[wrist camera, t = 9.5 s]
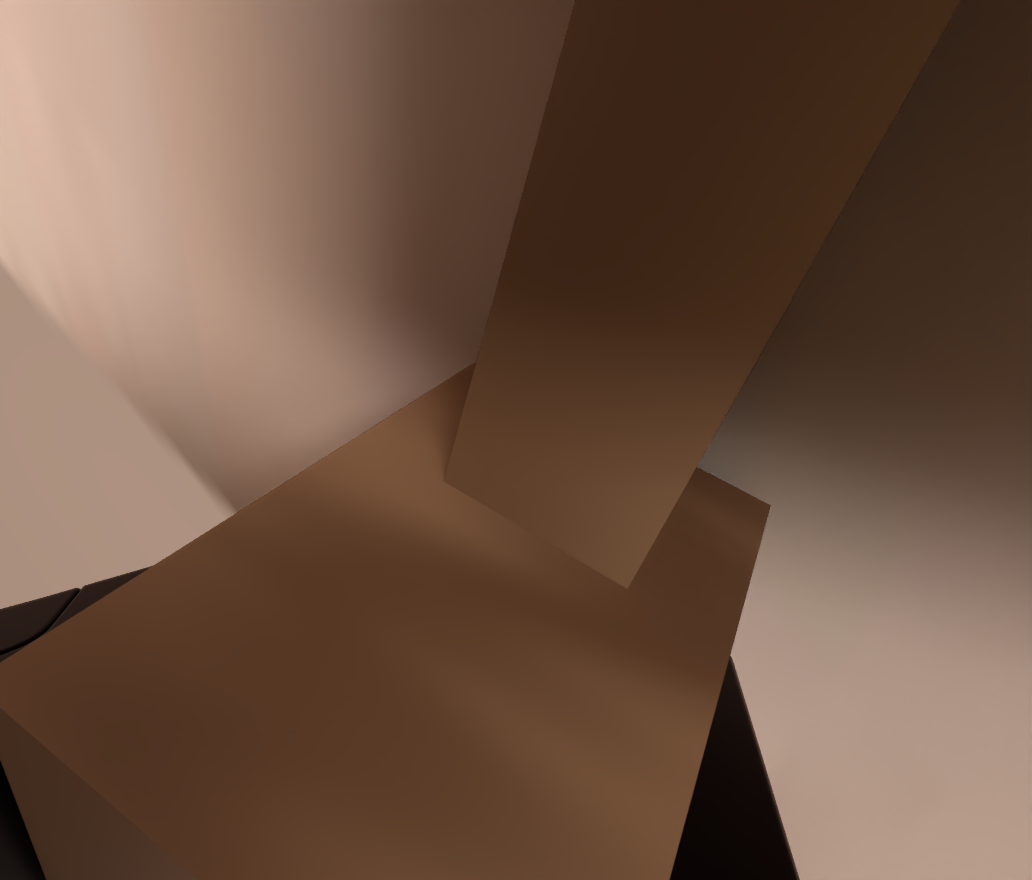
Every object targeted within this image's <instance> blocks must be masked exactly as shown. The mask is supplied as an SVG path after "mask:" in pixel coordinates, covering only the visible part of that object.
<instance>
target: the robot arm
mask: <svg viewBox="0 0 1032 880" xmlns="http://www.w3.org/2000/svg"><path fill="white" fill-rule="evenodd" d="M151 567H152V566H151ZM151 567H147V568H144V569H140V570H137V571H133V572H130V573H127V574H123V575H120V576H116V577H113V578H110V579H106V580H102V581H99V582H95V583H92V584H89V585H85V586H84V587H83V588H82V589H79V588H74V589H71V590H67V591H64V592H61V593H58V594H54V595H51V596H47V597H44V598H40V599H36V600H32V601H29V602H25V603H22V604H18V605H14V606H10V607H7V608H3V609H0V662H2V661H3V660H5V659H7V658H8V657H10V656H11V655H13V654H15V653H16V652H18V651H19V650H21V649H22V648H24V647H26V646H27V645H29V644H30V643H32V642H34V641H35V640H37V639H38V638H40V637H41V636H43V635H45V634H46V633H48V632H49V631H51V630H53V629H54V628H56V627H57V626H59V625H60V624H62V623H64V622H65V621H67V620H68V619H70V618H72V617H73V616H75V615H76V614H78V613H79V612H81V611H83V610H84V609H86V608H87V607H89V606H91V605H92V604H94V603H95V602H97V601H98V600H100V599H102V598H103V597H105V596H106V595H108V594H110V593H111V592H113V591H114V590H116V589H117V588H119V587H121V586H122V585H124V584H125V583H127V582H128V581H130V580H132V579H133V578H135V577H136V576H138V575H140V574H141V573H143V572H144V571H146V570H147V569H149V568H151ZM0 880H46V878H45V875H44V873H43V870H42V867H41V865H40V862H39V859H38V857H37V854H36V852H35V849H34V846H33V844H32V841H31V839H30V836H29V833H28V831H27V828H26V826H25V823H24V820H23V818H22V815H21V813H20V810H19V807H18V805H17V802H16V800H15V797H14V794H13V792H12V789H11V787H10V784H9V781H8V779H7V776H6V774H5V771H4V768H3V766H2V763H1V761H0ZM669 880H800V879H799V876H798V872H797V869H796V866H795V863H794V859H793V856H792V853H791V849H790V846H789V843H788V840H787V836H786V833H785V830H784V827H783V823H782V820H781V817H780V813H779V810H778V807H777V804H776V800H775V797H774V794H773V790H772V787H771V784H770V781H769V777H768V774H767V771H766V768H765V764H764V761H763V758H762V754H761V751H760V748H759V745H758V741H757V738H756V735H755V731H754V728H753V725H752V722H751V718H750V715H749V712H748V708H747V705H746V702H745V699H744V695H743V692H742V689H741V686H740V682H739V679H738V676H737V672H736V669H735V666H734V663H733V660H732V657H731V656H730V657H729V661H728V665H727V668H726V672H725V676H724V679H723V683H722V687H721V691H720V694H719V698H718V702H717V705H716V709H715V713H714V716H713V720H712V724H711V728H710V731H709V735H708V739H707V742H706V746H705V750H704V753H703V757H702V761H701V765H700V768H699V772H698V776H697V779H696V783H695V787H694V790H693V794H692V798H691V802H690V805H689V809H688V813H687V816H686V820H685V824H684V827H683V831H682V835H681V839H680V842H679V846H678V850H677V853H676V857H675V861H674V864H673V868H672V872H671V876H670V879H669Z"/></svg>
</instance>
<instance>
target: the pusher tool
mask: <svg viewBox="0 0 1032 880" xmlns="http://www.w3.org/2000/svg"><path fill="white" fill-rule="evenodd" d="M960 1H961V0H575V4H574V7H573V11H572V15H571V18H570V22H569V26H568V29H567V33H566V37H565V40H564V44H563V48H562V51H561V55H560V59H559V62H558V66H557V70H556V73H555V77H554V81H553V84H552V88H551V91H550V95H549V99H548V102H547V106H546V110H545V113H544V117H543V121H542V124H541V128H540V132H539V135H538V139H537V143H536V146H535V150H534V154H533V157H532V161H531V165H530V168H529V172H528V175H527V179H526V183H525V186H524V190H523V194H522V197H521V201H520V205H519V208H518V212H517V216H516V219H515V223H514V227H513V230H512V234H511V238H510V241H509V245H508V249H507V252H506V256H505V259H504V263H503V267H502V270H501V274H500V278H499V281H498V285H497V289H496V292H495V296H494V300H493V303H492V307H491V311H490V314H489V318H488V322H487V325H486V329H485V333H484V336H483V340H482V343H481V347H480V351H479V354H478V358H477V362H475V363H473V364H472V365H470V366H469V367H467V368H466V369H464V370H462V371H461V372H459V373H458V374H456V375H454V376H453V377H451V378H450V379H448V380H447V381H445V382H443V383H442V384H440V385H439V386H437V387H435V388H434V389H432V390H431V391H429V392H428V393H426V394H424V395H423V396H421V397H420V398H418V399H416V400H415V401H413V402H412V403H410V404H409V405H407V406H405V407H404V408H402V409H401V410H399V411H397V412H396V413H394V414H393V415H391V416H390V417H388V418H386V419H385V420H383V421H382V422H380V423H378V424H377V425H375V426H374V427H372V428H371V429H369V430H367V431H366V432H364V433H363V434H361V435H360V436H358V437H356V438H355V439H353V440H352V441H350V442H348V443H347V444H345V445H344V446H342V447H341V448H339V449H337V450H336V451H334V452H333V453H331V454H329V455H328V456H326V457H325V458H323V459H322V460H320V461H318V462H317V463H315V464H314V465H312V466H310V467H309V468H307V469H306V470H304V471H303V472H301V473H299V474H298V475H296V476H295V477H293V478H291V479H290V480H288V481H287V482H285V483H284V484H282V485H280V486H279V487H277V488H276V489H274V490H272V491H271V492H269V493H268V494H266V495H265V496H263V497H261V498H260V499H258V500H257V501H255V502H253V503H252V504H250V505H249V506H247V507H246V508H244V509H242V510H241V511H239V512H238V513H236V514H235V515H233V516H231V517H230V518H228V519H227V520H225V521H223V522H222V523H220V524H219V525H217V526H216V527H214V528H212V529H211V530H209V531H208V532H206V533H205V534H203V535H201V536H200V537H198V538H197V539H195V540H193V541H192V542H190V543H189V544H187V545H185V546H184V547H182V548H181V549H179V550H178V551H176V552H175V553H173V554H171V555H170V556H168V557H166V558H165V559H163V560H162V561H160V562H159V563H157V564H155V565H154V566H152V567H151V568H149V569H147V570H146V571H144V572H143V573H141V574H140V575H138V576H136V577H135V578H133V579H132V580H130V581H128V582H127V583H125V584H124V585H122V586H121V587H119V588H117V589H116V590H114V591H113V592H111V593H110V594H108V595H106V596H105V597H103V598H102V599H100V600H98V601H97V602H95V603H94V604H92V605H91V606H89V607H87V608H86V609H84V610H83V611H81V612H79V613H78V614H76V615H75V616H73V617H72V618H70V619H68V620H67V621H65V622H64V623H62V624H60V625H59V626H57V627H56V628H54V629H53V630H51V631H49V632H48V633H46V634H45V635H43V636H41V637H40V638H38V639H37V640H35V641H34V642H32V643H30V644H29V645H27V646H26V647H24V648H22V649H21V650H19V651H18V652H16V653H15V654H13V655H11V656H10V657H8V658H7V659H5V660H3V661H2V662H0V761H1V763H2V766H3V768H4V771H5V774H6V776H7V779H8V781H9V784H10V787H11V789H12V792H13V794H14V797H15V800H16V802H17V805H18V807H19V810H20V813H21V815H22V818H23V820H24V823H25V826H26V828H27V831H28V833H29V836H30V839H31V841H32V844H33V846H34V849H35V852H36V854H37V857H38V859H39V862H40V865H41V867H42V870H43V873H44V875H45V878H46V880H669V879H670V876H671V872H672V868H673V864H674V861H675V857H676V853H677V850H678V846H679V842H680V839H681V835H682V831H683V827H684V824H685V820H686V816H687V813H688V809H689V805H690V802H691V798H692V794H693V790H694V787H695V783H696V779H697V776H698V772H699V768H700V765H701V761H702V757H703V753H704V750H705V746H706V742H707V739H708V735H709V731H710V728H711V724H712V720H713V716H714V713H715V709H716V705H717V702H718V698H719V694H720V691H721V687H722V683H723V679H724V676H725V672H726V668H727V665H728V661H729V657H730V654H731V650H732V646H733V642H734V639H735V635H736V631H737V628H738V624H739V620H740V617H741V613H742V609H743V606H744V602H745V598H746V594H747V591H748V587H749V583H750V580H751V576H752V572H753V569H754V565H755V561H756V557H757V554H758V550H759V546H760V543H761V539H762V535H763V532H764V528H765V524H766V520H767V517H768V513H769V509H770V506H771V505H769V504H767V503H765V502H763V501H761V500H759V499H757V498H755V497H753V496H751V495H749V494H747V493H746V492H744V491H742V490H740V489H738V488H736V487H734V486H732V485H730V484H728V483H726V482H724V481H722V480H720V479H719V478H717V477H715V476H713V475H711V474H709V473H707V472H705V471H703V470H701V469H699V468H697V465H698V463H699V462H700V460H701V458H702V456H703V455H704V453H705V451H706V449H707V447H708V446H709V444H710V442H711V440H712V439H713V437H714V435H715V433H716V432H717V430H718V428H719V426H720V425H721V423H722V421H723V419H724V417H725V416H726V414H727V412H728V410H729V409H730V407H731V405H732V403H733V402H734V400H735V398H736V396H737V394H738V393H739V391H740V389H741V387H742V386H743V384H744V382H745V380H746V379H747V377H748V375H749V373H750V372H751V370H752V368H753V366H754V364H755V363H756V361H757V359H758V357H759V356H760V354H761V352H762V350H763V349H764V347H765V345H766V343H767V342H768V340H769V338H770V336H771V334H772V333H773V331H774V329H775V327H776V326H777V324H778V322H779V320H780V319H781V317H782V315H783V313H784V311H785V310H786V308H787V306H788V304H789V303H790V301H791V299H792V297H793V296H794V294H795V292H796V290H797V289H798V287H799V285H800V283H801V281H802V280H803V278H804V276H805V274H806V273H807V271H808V269H809V267H810V266H811V264H812V262H813V260H814V258H815V257H816V255H817V253H818V251H819V250H820V248H821V246H822V244H823V243H824V241H825V239H826V237H827V236H828V234H829V232H830V230H831V228H832V227H833V225H834V223H835V221H836V220H837V218H838V216H839V214H840V213H841V211H842V209H843V207H844V205H845V204H846V202H847V200H848V198H849V197H850V195H851V193H852V191H853V190H854V188H855V186H856V184H857V183H858V181H859V179H860V177H861V175H862V174H863V172H864V170H865V168H866V167H867V165H868V163H869V161H870V160H871V158H872V156H873V154H874V152H875V151H876V149H877V147H878V145H879V144H880V142H881V140H882V138H883V137H884V135H885V133H886V131H887V130H888V128H889V126H890V124H891V122H892V121H893V119H894V117H895V115H896V114H897V112H898V110H899V108H900V107H901V105H902V103H903V101H904V100H905V98H906V96H907V94H908V92H909V91H910V89H911V87H912V85H913V84H914V82H915V80H916V78H917V77H918V75H919V73H920V71H921V69H922V68H923V66H924V64H925V62H926V61H927V59H928V57H929V55H930V54H931V52H932V50H933V48H934V47H935V45H936V43H937V41H938V39H939V38H940V36H941V34H942V32H943V31H944V29H945V27H946V25H947V24H948V22H949V20H950V18H951V16H952V15H953V13H954V11H955V9H956V8H957V6H958V4H959V2H960Z"/></svg>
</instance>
